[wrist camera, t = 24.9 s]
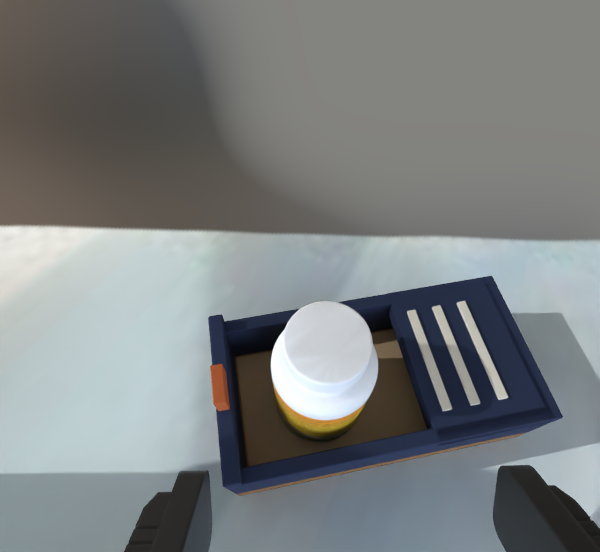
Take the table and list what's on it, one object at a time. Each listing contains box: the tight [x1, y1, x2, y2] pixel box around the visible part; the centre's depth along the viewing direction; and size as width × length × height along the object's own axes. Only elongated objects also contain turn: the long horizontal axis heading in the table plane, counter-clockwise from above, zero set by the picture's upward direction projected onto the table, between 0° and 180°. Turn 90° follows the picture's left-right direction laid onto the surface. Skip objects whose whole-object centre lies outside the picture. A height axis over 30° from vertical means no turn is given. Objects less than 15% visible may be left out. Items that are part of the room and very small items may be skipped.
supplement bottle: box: [271, 301, 378, 442], centre depth 22 cm, size 5×5×10 cm
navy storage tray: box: [208, 276, 563, 496], centre depth 25 cm, size 18×9×8 cm, turn 101°
